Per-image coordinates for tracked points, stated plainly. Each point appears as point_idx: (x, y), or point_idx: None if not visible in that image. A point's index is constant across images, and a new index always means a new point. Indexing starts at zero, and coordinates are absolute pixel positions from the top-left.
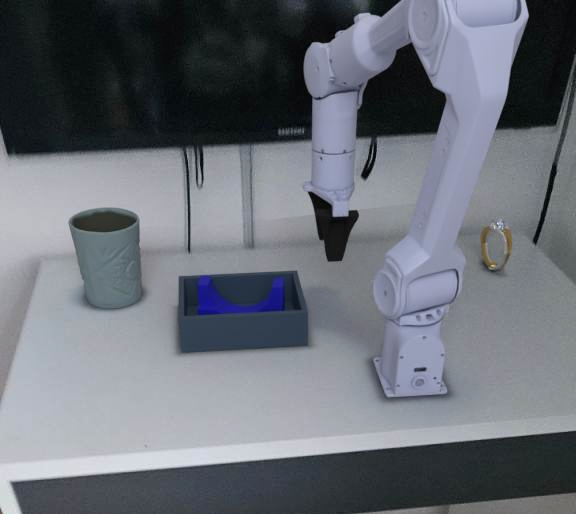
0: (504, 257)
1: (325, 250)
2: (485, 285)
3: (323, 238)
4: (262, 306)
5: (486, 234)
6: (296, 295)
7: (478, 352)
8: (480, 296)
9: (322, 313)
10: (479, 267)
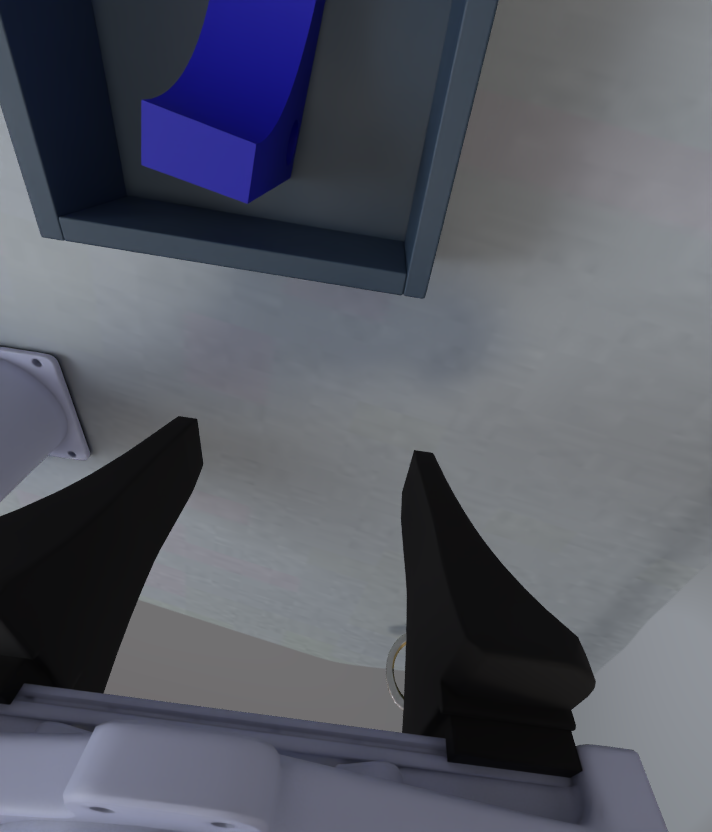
0: (386, 665)
1: (147, 439)
2: (367, 605)
3: (412, 467)
4: (222, 53)
5: None
6: (252, 240)
7: None
8: (329, 588)
9: (322, 314)
10: None
